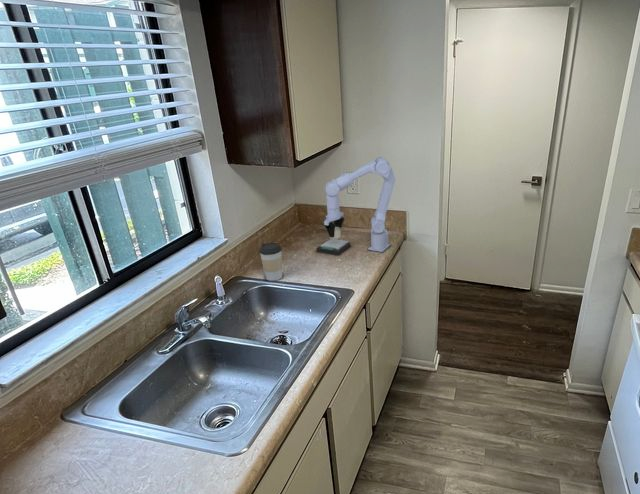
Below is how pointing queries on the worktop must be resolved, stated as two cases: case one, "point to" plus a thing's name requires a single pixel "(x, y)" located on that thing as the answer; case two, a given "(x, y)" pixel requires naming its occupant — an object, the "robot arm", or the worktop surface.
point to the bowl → (336, 233)
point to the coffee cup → (271, 260)
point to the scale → (334, 246)
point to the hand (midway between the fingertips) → (335, 234)
